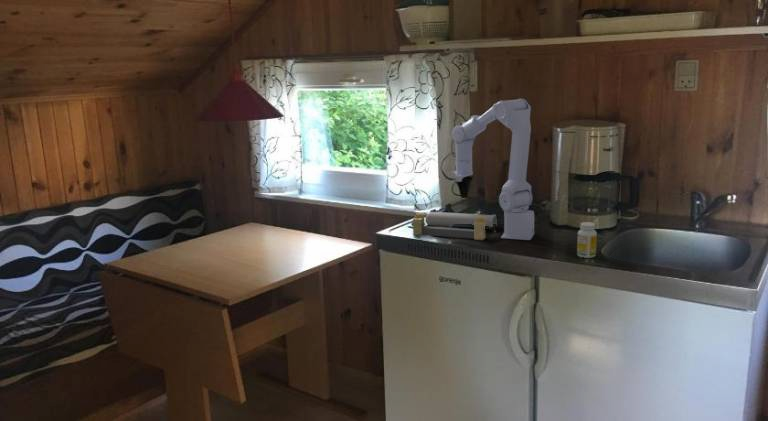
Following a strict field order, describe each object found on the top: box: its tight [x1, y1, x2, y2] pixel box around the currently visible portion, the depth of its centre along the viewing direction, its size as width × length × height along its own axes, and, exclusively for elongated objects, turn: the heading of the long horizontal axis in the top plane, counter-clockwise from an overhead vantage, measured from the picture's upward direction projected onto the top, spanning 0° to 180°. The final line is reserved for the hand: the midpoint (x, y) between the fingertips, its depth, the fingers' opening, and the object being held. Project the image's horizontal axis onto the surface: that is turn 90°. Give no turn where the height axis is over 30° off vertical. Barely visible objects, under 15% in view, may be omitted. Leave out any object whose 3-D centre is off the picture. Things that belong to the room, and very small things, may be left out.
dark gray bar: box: [422, 225, 474, 240], centre depth 212 cm, size 24×2×2 cm, turn 67°
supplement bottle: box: [576, 221, 598, 259], centre depth 186 cm, size 5×5×10 cm
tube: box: [424, 211, 498, 228], centre depth 222 cm, size 5×5×25 cm
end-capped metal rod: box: [412, 211, 487, 241], centre depth 212 cm, size 24×6×6 cm, turn 67°
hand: (464, 197), depth 227 cm, fingers closed
